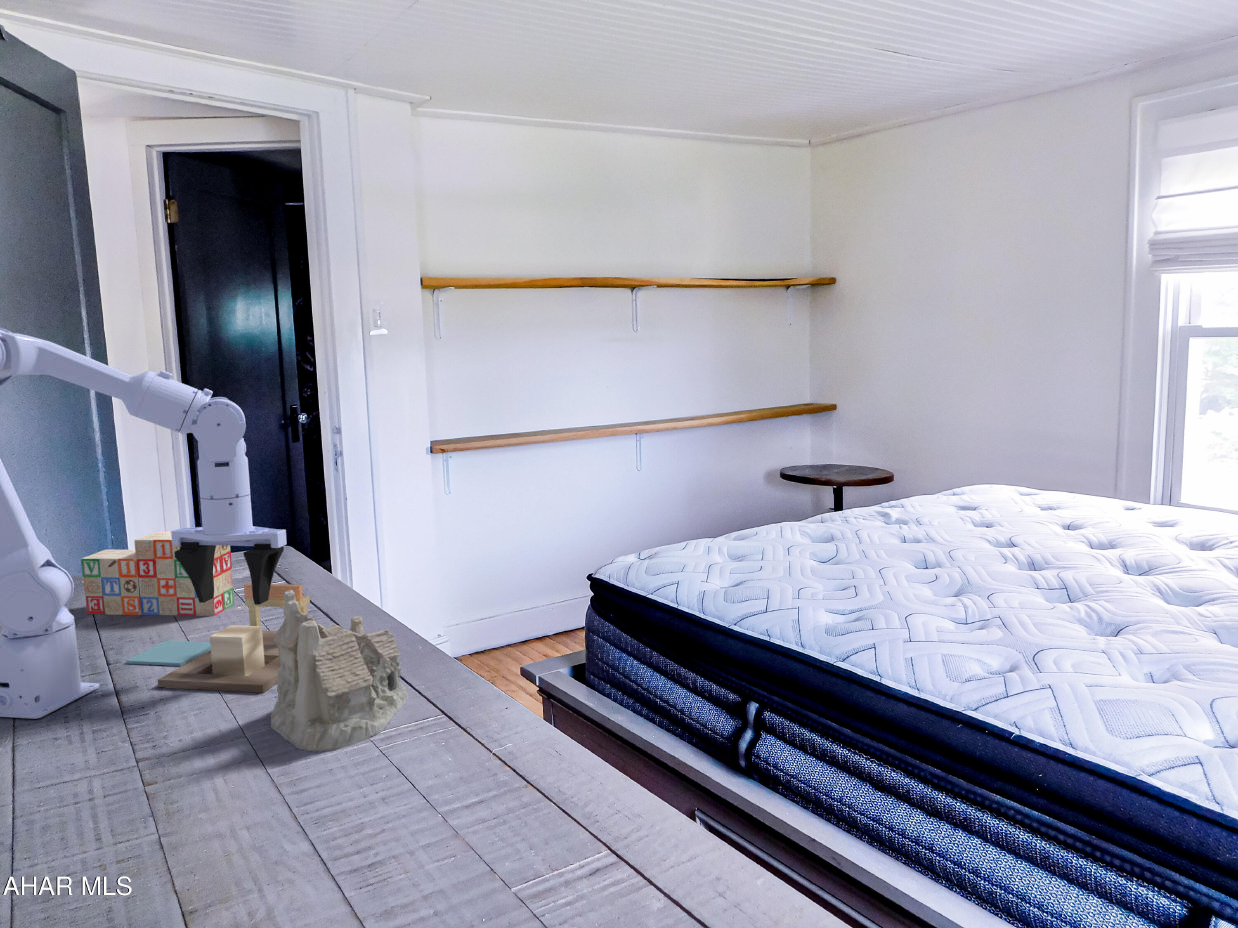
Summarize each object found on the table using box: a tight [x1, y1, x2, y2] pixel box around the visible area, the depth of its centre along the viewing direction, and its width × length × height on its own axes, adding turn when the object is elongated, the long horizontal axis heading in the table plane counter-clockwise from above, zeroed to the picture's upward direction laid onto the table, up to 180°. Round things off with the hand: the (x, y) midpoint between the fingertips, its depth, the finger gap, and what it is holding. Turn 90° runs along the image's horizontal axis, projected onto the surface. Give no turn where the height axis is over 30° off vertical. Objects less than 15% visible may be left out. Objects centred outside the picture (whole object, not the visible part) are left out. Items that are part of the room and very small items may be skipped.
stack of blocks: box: [80, 531, 235, 617], centre depth 138 cm, size 21×6×12 cm, turn 86°
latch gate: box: [243, 582, 311, 626], centre depth 120 cm, size 2×8×8 cm, turn 81°
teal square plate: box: [125, 640, 211, 667], centre depth 118 cm, size 8×8×1 cm
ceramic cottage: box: [270, 590, 409, 753], centre depth 97 cm, size 16×16×15 cm
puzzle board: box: [157, 629, 281, 694], centre depth 114 cm, size 19×14×1 cm
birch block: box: [209, 624, 266, 676], centre depth 111 cm, size 4×4×6 cm
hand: (233, 601), depth 110 cm, fingers open, 7 cm apart
